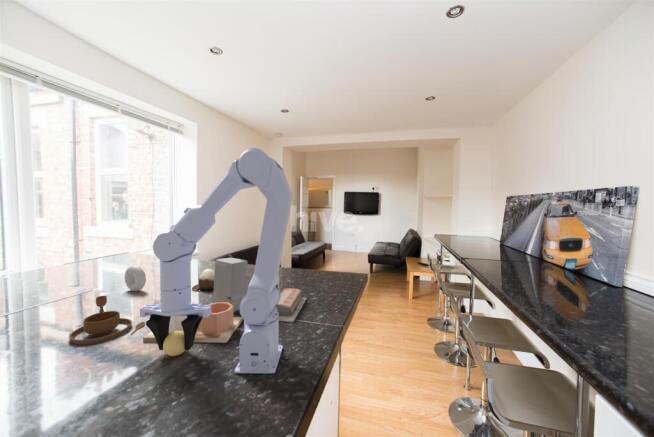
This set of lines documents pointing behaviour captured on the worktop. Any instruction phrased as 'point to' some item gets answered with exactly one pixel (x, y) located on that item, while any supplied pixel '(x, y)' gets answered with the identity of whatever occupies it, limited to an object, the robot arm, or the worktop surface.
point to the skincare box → (230, 281)
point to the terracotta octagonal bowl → (217, 319)
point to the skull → (205, 281)
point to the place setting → (102, 325)
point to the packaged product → (289, 304)
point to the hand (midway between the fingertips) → (176, 347)
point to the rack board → (200, 337)
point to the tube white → (176, 323)
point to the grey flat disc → (135, 278)
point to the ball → (174, 343)
